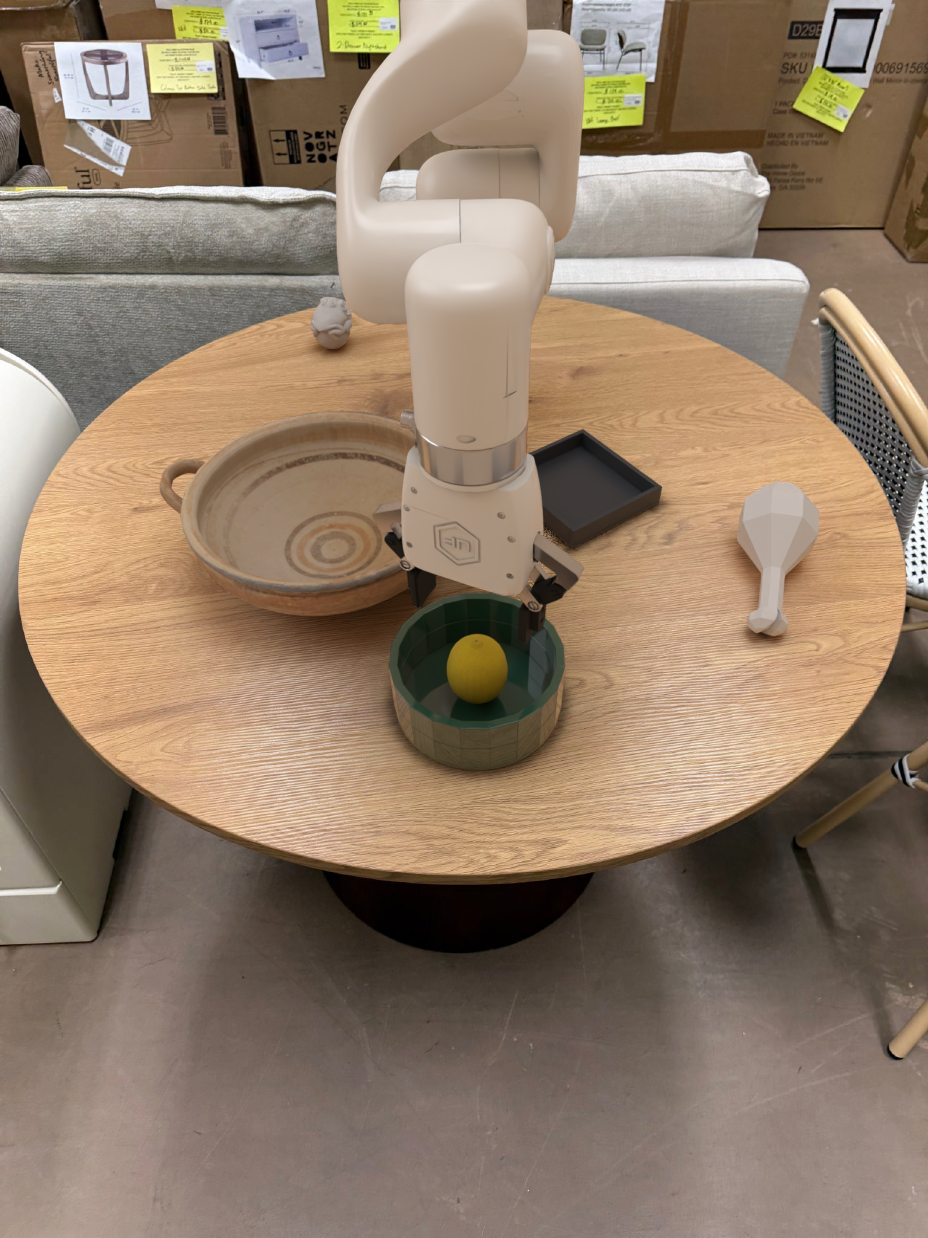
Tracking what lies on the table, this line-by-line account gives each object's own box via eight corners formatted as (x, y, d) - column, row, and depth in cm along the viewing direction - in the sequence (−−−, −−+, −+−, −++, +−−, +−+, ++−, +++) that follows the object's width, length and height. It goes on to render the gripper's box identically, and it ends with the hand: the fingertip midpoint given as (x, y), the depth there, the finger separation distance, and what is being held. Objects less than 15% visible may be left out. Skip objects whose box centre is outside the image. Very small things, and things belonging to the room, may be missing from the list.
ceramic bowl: (119, 620, 85) (83, 550, 78) (242, 459, 103) (222, 389, 96) (457, 693, 78) (454, 623, 70) (526, 505, 96) (529, 434, 88)
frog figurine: (363, 337, 123) (357, 293, 118) (342, 360, 119) (335, 315, 113) (327, 331, 125) (320, 287, 119) (305, 354, 120) (297, 309, 115)
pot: (365, 683, 79) (357, 640, 74) (496, 614, 84) (496, 569, 79) (455, 801, 70) (452, 760, 65) (594, 715, 76) (601, 671, 71)
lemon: (508, 674, 78) (510, 619, 72) (505, 722, 75) (506, 667, 69) (451, 671, 79) (448, 615, 73) (445, 718, 75) (441, 663, 69)
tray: (497, 484, 99) (497, 466, 97) (581, 445, 103) (582, 428, 101) (571, 549, 91) (573, 531, 89) (659, 504, 95) (662, 486, 93)
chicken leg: (707, 635, 83) (758, 600, 76) (724, 499, 91) (772, 456, 84) (777, 664, 84) (833, 633, 77) (787, 528, 93) (839, 488, 86)
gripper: (334, 441, 56) (363, 612, 68) (572, 506, 50) (556, 679, 63) (388, 386, 60) (406, 556, 73) (611, 441, 55) (589, 614, 67)
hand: (475, 613), depth 68 cm, fingers open, 9 cm apart
